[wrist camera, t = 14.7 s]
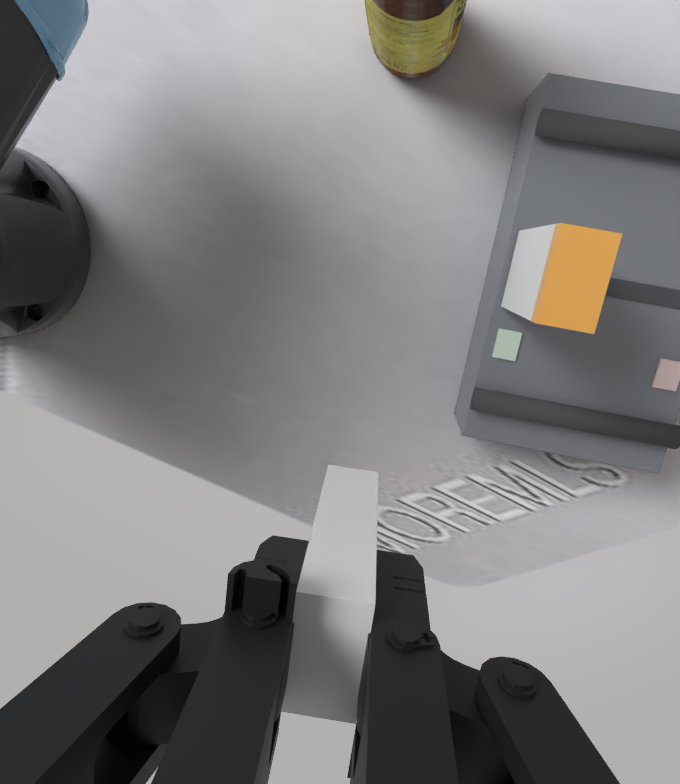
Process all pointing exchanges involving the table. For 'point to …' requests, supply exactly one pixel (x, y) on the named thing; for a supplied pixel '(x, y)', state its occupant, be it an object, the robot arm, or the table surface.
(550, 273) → the lever
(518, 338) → the switch panel
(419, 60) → the sauce bottle
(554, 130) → the pair of dark rails
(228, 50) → the table surface
